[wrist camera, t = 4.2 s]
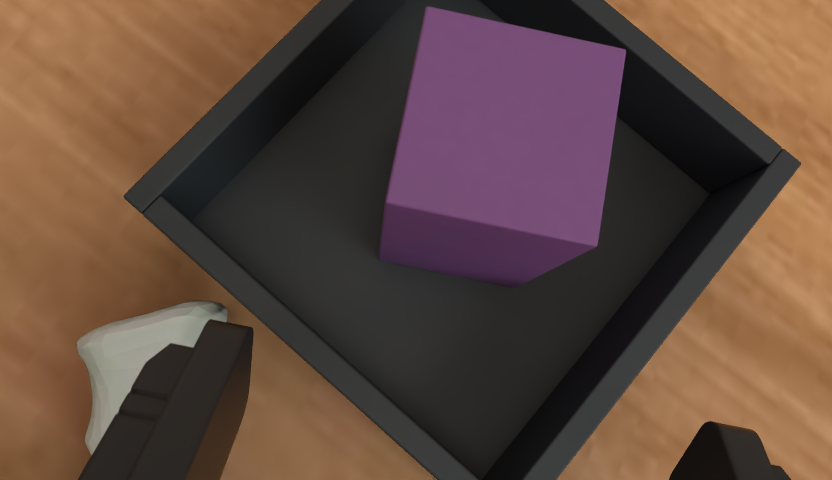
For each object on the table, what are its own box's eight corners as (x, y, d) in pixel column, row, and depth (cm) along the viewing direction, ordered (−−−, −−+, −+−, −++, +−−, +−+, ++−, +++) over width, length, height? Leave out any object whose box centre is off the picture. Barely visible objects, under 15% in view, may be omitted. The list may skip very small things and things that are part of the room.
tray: (166, 227, 22) (121, 196, 18) (435, -45, 25) (449, -129, 21) (479, 508, 22) (508, 543, 17) (726, 198, 24) (802, 163, 20)
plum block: (515, 288, 22) (598, 247, 14) (377, 260, 22) (384, 203, 14) (537, 156, 23) (627, 48, 15) (404, 128, 23) (426, 4, 15)
